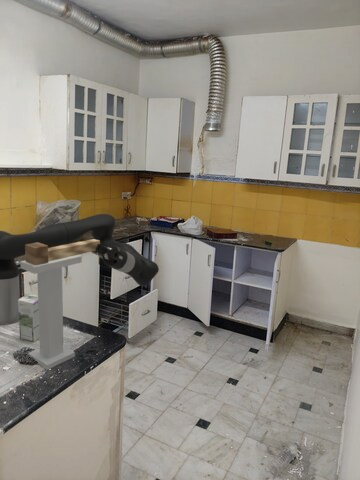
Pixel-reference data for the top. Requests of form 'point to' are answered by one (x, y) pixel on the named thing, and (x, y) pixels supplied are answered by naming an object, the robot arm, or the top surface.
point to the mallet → (57, 251)
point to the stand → (51, 311)
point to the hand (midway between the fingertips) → (88, 244)
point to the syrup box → (28, 317)
